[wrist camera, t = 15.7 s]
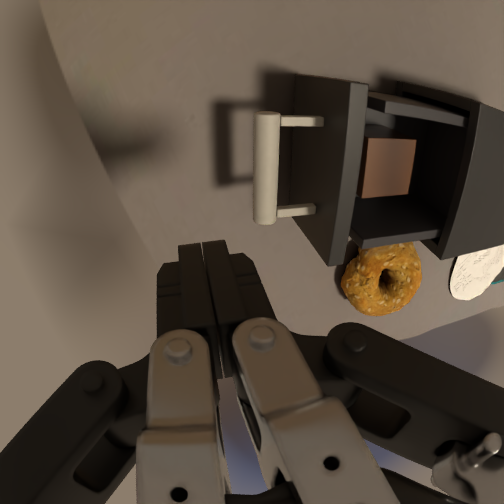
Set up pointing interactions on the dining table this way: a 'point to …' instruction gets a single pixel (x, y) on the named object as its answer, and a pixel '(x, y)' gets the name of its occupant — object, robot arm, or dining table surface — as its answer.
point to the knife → (499, 277)
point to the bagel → (390, 285)
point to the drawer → (355, 166)
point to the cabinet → (470, 177)
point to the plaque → (476, 272)
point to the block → (385, 162)
